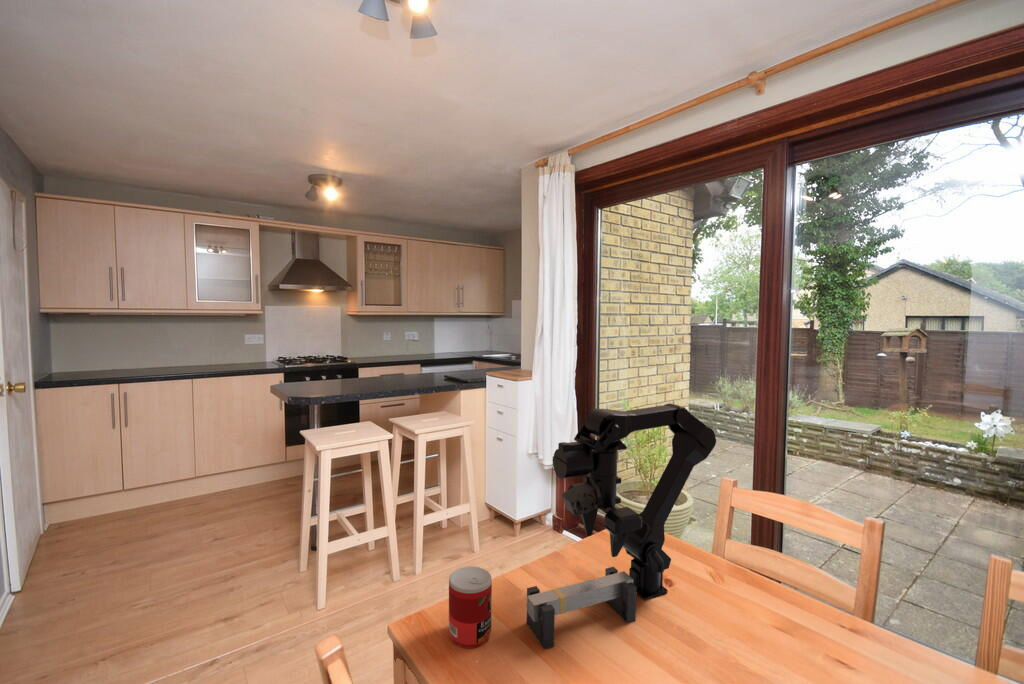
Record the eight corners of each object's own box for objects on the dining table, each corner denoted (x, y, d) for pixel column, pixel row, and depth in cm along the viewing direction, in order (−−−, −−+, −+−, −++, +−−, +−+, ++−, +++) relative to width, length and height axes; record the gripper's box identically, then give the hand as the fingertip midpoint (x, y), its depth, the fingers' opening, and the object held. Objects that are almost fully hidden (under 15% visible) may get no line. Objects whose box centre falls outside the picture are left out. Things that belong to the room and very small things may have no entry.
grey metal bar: (623, 585, 93) (623, 570, 93) (632, 593, 91) (633, 578, 90) (526, 611, 85) (526, 595, 85) (533, 622, 82) (534, 605, 82)
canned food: (485, 652, 80) (485, 592, 79) (442, 645, 81) (442, 586, 81) (495, 623, 87) (496, 568, 87) (456, 617, 89) (456, 563, 88)
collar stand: (612, 598, 95) (613, 566, 95) (635, 621, 88) (636, 586, 88) (526, 623, 88) (526, 588, 87) (544, 649, 81) (544, 611, 80)
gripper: (546, 462, 98) (545, 532, 99) (594, 493, 81) (593, 578, 82) (590, 456, 103) (589, 523, 103) (644, 485, 85) (642, 565, 86)
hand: (601, 545), depth 94 cm, fingers open, 9 cm apart
